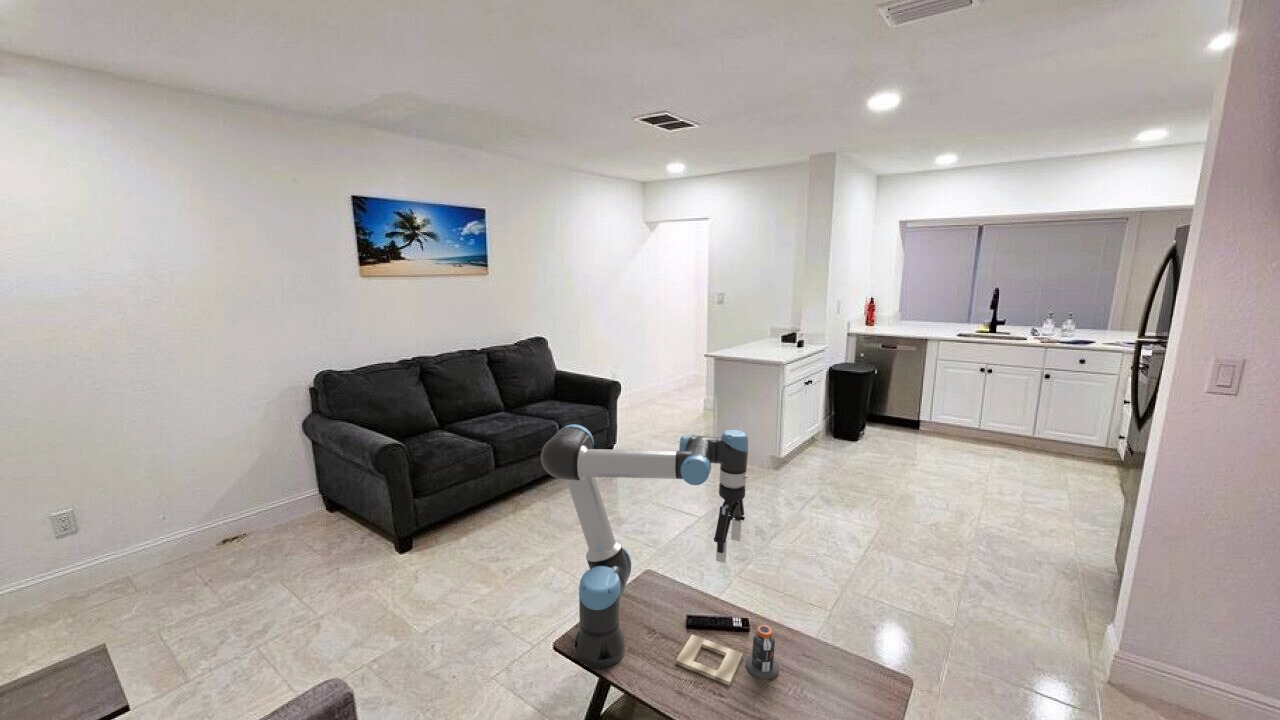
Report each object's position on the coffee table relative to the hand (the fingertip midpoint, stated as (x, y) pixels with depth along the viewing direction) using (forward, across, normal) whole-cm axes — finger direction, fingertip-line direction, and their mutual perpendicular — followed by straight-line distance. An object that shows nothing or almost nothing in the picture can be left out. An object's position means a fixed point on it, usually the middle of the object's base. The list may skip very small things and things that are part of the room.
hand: (728, 550), depth 155 cm
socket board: (+29, -12, 0) cm, 31 cm away
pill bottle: (+28, -7, -14) cm, 32 cm away
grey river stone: (+29, -7, -14) cm, 33 cm away
